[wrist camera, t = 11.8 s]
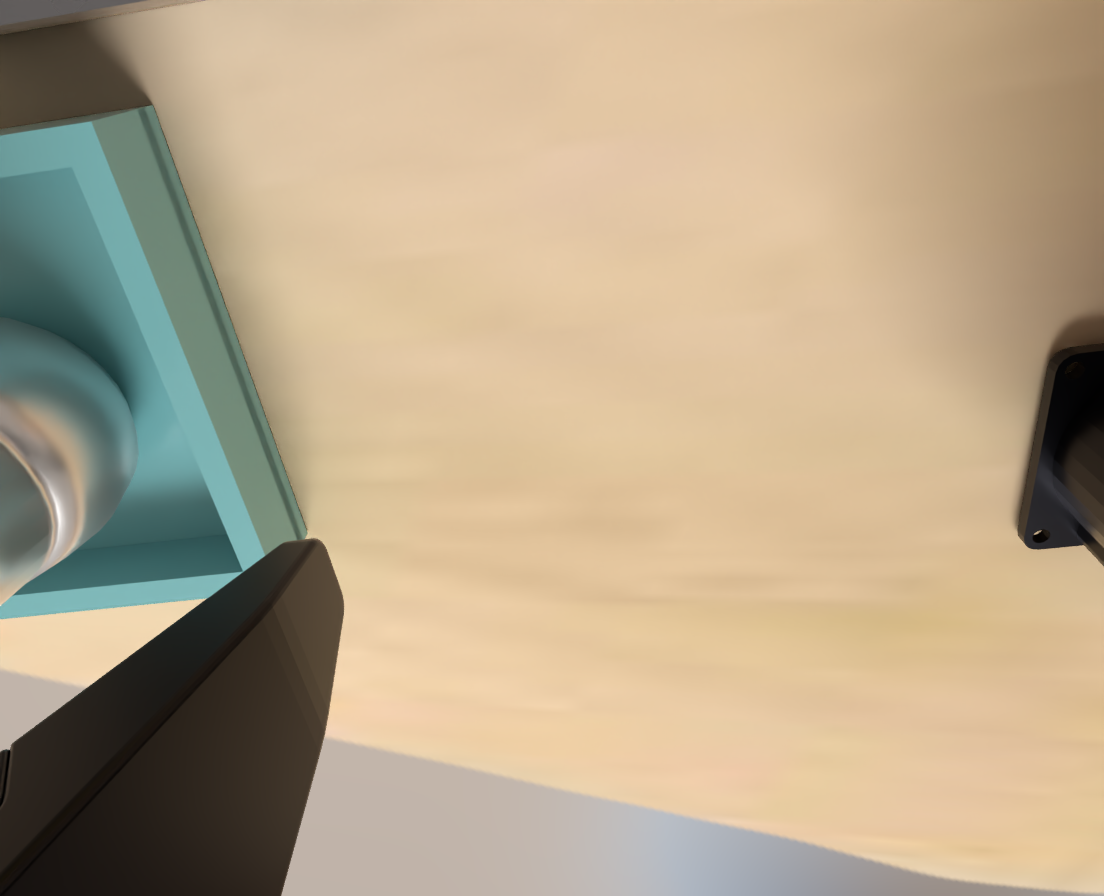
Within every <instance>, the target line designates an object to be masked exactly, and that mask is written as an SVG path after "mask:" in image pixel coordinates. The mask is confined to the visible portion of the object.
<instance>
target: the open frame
mask: <svg viewBox="0 0 1104 896" xmlns="http://www.w3.org/2000/svg"><path fill="white" fill-rule="evenodd" d="M199 1H204V0H0V35H3V34H9V33H14V32H20V31H26V30H32V29H38V28H44V27H50V26H56V25H62V24H68V23H74V22H80V21H86V20H92V19H98V18H104V17H109V16H115V15H121V14H127V13H133V12H139V11H145V10H151V9H157V8H163V7H169V6H175V5H181V4H187V3H193V2H199Z"/></svg>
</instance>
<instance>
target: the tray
mask: <svg viewBox="0 0 1104 896" xmlns="http://www.w3.org/2000/svg"><path fill="white" fill-rule="evenodd" d="M0 317H4V318H10V319H13V320H16V321H20V322H23V323H26V324H29V325H32V326H35V327H38V328H41V329H44V330H47V331H50V332H52V333H54V334H56V335H58V336H60V337H62V338H64V339H66V340H68V341H70V342H71V343H73V344H74V345H76V346H77V347H79V348H80V349H81V350H83V351H84V352H86V353H87V354H89V355H90V356H91V357H92V358H93V359H94V360H95V361H96V362H97V363H98V364H100V365H101V366H102V367H103V368H104V369H105V370H106V371H107V373H108V374H109V375H110V376H111V378H112V379H113V380H114V381H115V383H116V384H117V385H118V387H119V389H120V390H121V392H122V394H123V396H124V397H125V399H126V401H127V403H128V406H129V409H130V412H131V415H132V418H133V421H134V425H135V428H136V432H137V439H138V449H139V455H138V461H137V467H136V471H135V473H134V475H133V478H132V480H131V482H130V484H129V486H128V488H127V490H126V492H125V493H124V495H123V497H122V499H121V501H120V503H119V505H118V506H117V508H116V510H115V512H114V514H113V516H112V517H111V518H110V519H109V521H108V522H107V523H106V524H105V525H104V526H103V527H102V529H101V530H100V531H99V532H97V533H96V534H95V535H94V536H92V537H91V538H90V539H89V540H87V541H86V542H85V543H84V544H82V545H81V546H80V547H79V548H77V549H76V550H75V551H74V552H72V553H71V554H70V555H69V556H67V557H66V558H65V559H63V560H62V561H60V562H59V563H57V564H56V565H54V566H53V567H51V568H49V569H48V570H46V571H45V572H43V573H42V574H40V575H39V576H37V577H36V578H34V579H33V580H31V581H29V582H28V583H26V584H25V585H24V586H23V587H21V588H20V589H19V590H18V591H17V592H16V593H15V594H13V595H12V596H11V597H10V598H9V599H8V600H7V601H6V602H4V603H3V604H2V605H1V606H0V619H7V618H17V617H27V616H37V615H47V614H56V613H66V612H76V611H86V610H96V609H106V608H116V607H126V606H135V605H145V604H155V603H165V602H175V601H185V600H195V599H205V598H209V597H210V596H211V595H213V594H214V593H215V592H217V591H218V590H220V589H221V588H222V587H224V586H225V585H226V584H228V583H229V582H230V581H232V580H233V579H234V578H236V577H237V576H238V575H240V574H241V573H242V572H244V571H245V570H246V569H248V568H249V567H250V566H252V565H253V564H255V563H256V562H257V561H259V560H260V559H261V558H263V557H264V556H265V555H267V554H268V553H269V552H271V551H272V550H273V549H275V548H276V547H277V546H279V545H280V544H282V543H283V542H286V541H294V540H303V539H305V537H306V535H307V530H306V527H305V525H304V522H303V519H302V516H301V514H300V511H299V508H298V505H297V502H296V500H295V497H294V494H293V491H292V489H291V486H290V483H289V480H288V478H287V475H286V472H285V469H284V467H283V464H282V461H281V458H280V455H279V453H278V450H277V447H276V444H275V442H274V439H273V436H272V433H271V431H270V428H269V425H268V422H267V419H266V417H265V414H264V411H263V408H262V406H261V403H260V400H259V397H258V395H257V392H256V389H255V386H254V384H253V381H252V378H251V375H250V372H249V370H248V367H247V364H246V361H245V359H244V356H243V353H242V350H241V348H240V345H239V342H238V339H237V336H236V334H235V331H234V328H233V325H232V323H231V320H230V317H229V314H228V312H227V309H226V306H225V303H224V301H223V298H222V295H221V292H220V289H219V287H218V284H217V281H216V278H215V276H214V273H213V270H212V267H211V265H210V262H209V259H208V256H207V254H206V251H205V248H204V245H203V242H202V240H201V237H200V234H199V231H198V229H197V226H196V223H195V220H194V218H193V215H192V212H191V209H190V206H189V204H188V201H187V198H186V195H185V193H184V190H183V187H182V184H181V182H180V179H179V176H178V173H177V171H176V168H175V165H174V162H173V159H172V157H171V154H170V151H169V148H168V146H167V143H166V140H165V137H164V135H163V132H162V129H161V126H160V123H159V121H158V118H157V115H156V112H155V110H154V107H153V105H150V106H143V107H137V108H131V109H124V110H118V111H112V112H105V113H99V114H92V115H86V116H80V117H73V118H67V119H61V120H54V121H48V122H42V123H35V124H29V125H23V126H16V127H10V128H4V129H0Z"/></svg>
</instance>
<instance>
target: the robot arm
mask: <svg viewBox="0 0 1104 896" xmlns="http://www.w3.org/2000/svg"><path fill="white" fill-rule="evenodd" d="M1074 362H1077V364H1076V366H1075V368H1074V369H1073V370H1072V371H1070V372H1067V373H1065V371H1066V369H1067V367H1068V366H1069V365H1070V364H1072V363H1074ZM1039 530H1042V531H1041V532H1040V533H1038V534H1036V535H1034V533H1036V532H1037V531H1039ZM1018 536H1019V537H1020V539H1021V540H1022V541H1023V542H1024V543H1025V545H1026V546H1027V547H1029V548H1031V549H1049V548H1059V547H1069V546H1079V545H1084V546H1085V547H1086V548H1087V549H1088V550H1089V551H1090V552H1091V553H1092V554H1093V555H1094V556H1095V557H1096V558H1097V559H1098V561H1099V562H1100V563H1101V564H1102V565H1103V566H1104V344H1095V345H1087V346H1078V347H1070V348H1067V349H1063V350H1061V351H1060V352H1058V353H1057V354H1055V355H1054V357H1053V358H1052V359H1051V360H1050V362H1049V365H1048V368H1047V374H1046V379H1045V385H1044V390H1043V395H1042V401H1041V406H1040V412H1039V417H1038V422H1037V428H1036V433H1035V439H1034V444H1033V449H1032V455H1031V460H1030V466H1029V471H1028V476H1027V482H1026V487H1025V493H1024V498H1023V503H1022V509H1021V514H1020V519H1019V525H1018ZM343 616H344V600H343V595H342V592H341V589H340V586H339V583H338V580H337V577H336V575H335V572H334V569H333V566H332V563H331V560H330V558H329V555H328V552H327V549H326V547H325V546H324V544H323V543H322V541H320V540H318V539H316V538H313V539H303V540H294V541H286V542H283V543H282V544H280V545H279V546H277V547H276V548H275V549H273V550H272V551H271V552H269V553H268V554H267V555H265V556H264V557H263V558H261V559H260V560H259V561H257V562H256V563H255V564H253V565H252V566H250V567H249V568H248V569H246V570H245V571H244V572H242V573H241V574H240V575H238V576H237V577H236V578H234V579H233V580H232V581H230V582H229V583H228V584H226V585H225V586H224V587H222V588H221V589H220V590H218V591H217V592H215V593H214V594H213V595H211V596H210V597H209V598H207V599H206V600H205V601H203V602H202V603H201V604H199V605H198V606H197V607H195V608H194V609H193V610H191V611H190V612H189V613H187V614H186V615H184V616H183V617H182V618H180V619H179V620H178V621H176V622H175V623H174V624H172V625H171V626H170V627H168V628H167V629H166V630H164V631H163V632H162V633H160V634H159V635H158V636H156V637H155V638H154V639H152V640H151V641H149V642H148V643H147V644H145V645H144V646H143V647H141V648H140V649H139V650H137V651H136V652H135V653H133V654H132V655H131V656H129V657H128V658H127V659H125V660H124V661H123V662H121V663H120V664H118V665H117V666H116V667H114V668H113V669H112V670H110V671H109V672H108V673H106V674H105V675H104V676H102V677H101V678H100V679H98V680H97V681H96V682H94V683H93V684H92V685H90V686H89V687H88V688H86V689H85V690H83V691H82V692H81V693H79V694H78V695H77V696H75V697H74V698H73V699H71V700H70V701H69V702H67V703H66V704H65V705H63V706H62V707H61V708H59V709H58V710H57V711H55V712H54V713H52V714H51V715H50V716H48V717H47V718H46V719H44V720H43V721H42V722H40V723H39V724H38V725H36V726H35V727H34V728H32V729H31V730H30V731H28V732H27V733H26V734H24V735H23V736H22V737H20V738H19V739H17V740H16V741H15V742H14V743H12V745H11V748H10V750H7V749H6V750H3V751H1V752H0V896H281V894H282V891H283V887H284V883H285V879H286V876H287V872H288V869H289V865H290V861H291V858H292V854H293V850H294V847H295V843H296V839H297V836H298V832H299V828H300V825H301V821H302V818H303V814H304V810H305V807H306V803H307V799H308V796H309V792H310V788H311V784H312V781H313V777H314V774H315V770H316V766H317V763H318V759H319V755H320V752H321V748H322V743H323V739H324V735H325V731H326V725H327V720H328V714H329V708H330V701H331V695H332V688H333V682H334V675H335V669H336V662H337V655H338V649H339V642H340V636H341V629H342V623H343Z"/></svg>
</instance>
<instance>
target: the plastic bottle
mask: <svg viewBox="0 0 1104 896" xmlns="http://www.w3.org/2000/svg"><path fill="white" fill-rule="evenodd" d="M138 455H139V449H138V439H137V432H136V428H135V425H134V421H133V418H132V415H131V412H130V409H129V406H128V403H127V401H126V399H125V397H124V396H123V394H122V392H121V390H120V389H119V387H118V385H117V384H116V383H115V381H114V380H113V379H112V378H111V376H110V375H109V374H108V373H107V371H106V370H105V369H104V368H103V367H102V366H101V365H100V364H98V363H97V362H96V361H95V360H94V359H93V358H92V357H91V356H90V355H89V354H87V353H86V352H84V351H83V350H81V349H80V348H79V347H77V346H76V345H74V344H73V343H71V342H70V341H68V340H66V339H64V338H62V337H60V336H58V335H56V334H54V333H52V332H50V331H47V330H44V329H41V328H38V327H35V326H32V325H29V324H26V323H23V322H20V321H16V320H13V319H10V318H4V317H0V606H1V605H2V604H3V603H4V602H6V601H7V600H8V599H9V598H10V597H11V596H12V595H13V594H15V593H16V592H17V591H18V590H19V589H20V588H21V587H23V586H24V585H25V584H26V583H28V582H29V581H31V580H33V579H34V578H36V577H37V576H39V575H40V574H42V573H43V572H45V571H46V570H48V569H49V568H51V567H53V566H54V565H56V564H57V563H59V562H60V561H62V560H63V559H65V558H66V557H67V556H69V555H70V554H71V553H72V552H74V551H75V550H76V549H77V548H79V547H80V546H81V545H82V544H84V543H85V542H86V541H87V540H89V539H90V538H91V537H92V536H94V535H95V534H96V533H97V532H99V531H100V530H101V529H102V527H103V526H104V525H105V524H106V523H107V522H108V521H109V519H110V518H111V517H112V516H113V514H114V512H115V510H116V508H117V506H118V505H119V503H120V501H121V499H122V497H123V495H124V493H125V492H126V490H127V488H128V486H129V484H130V482H131V480H132V478H133V475H134V473H135V471H136V467H137V461H138Z"/></svg>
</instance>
